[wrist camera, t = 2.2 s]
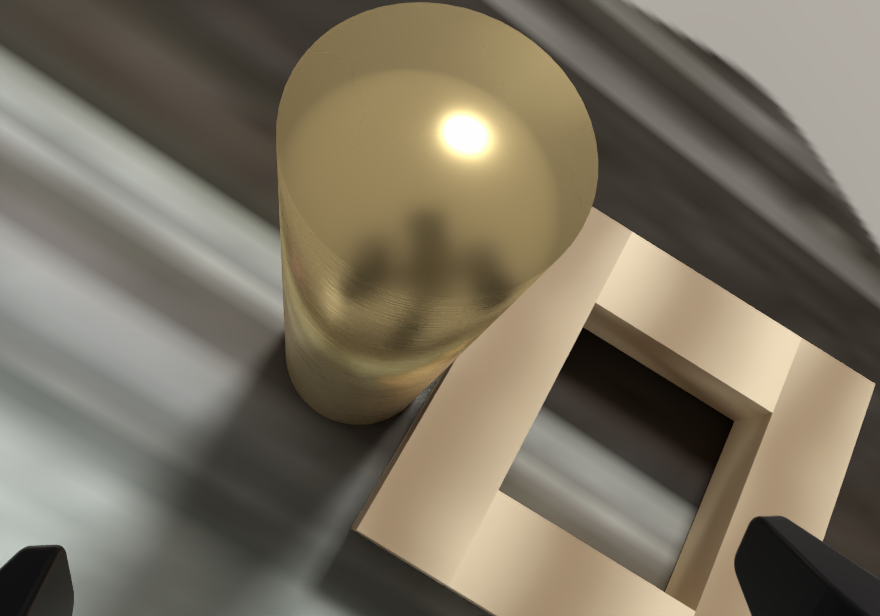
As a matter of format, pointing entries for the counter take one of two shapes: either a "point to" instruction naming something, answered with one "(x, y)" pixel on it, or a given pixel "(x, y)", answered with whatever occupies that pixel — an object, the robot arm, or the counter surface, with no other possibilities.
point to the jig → (665, 352)
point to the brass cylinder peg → (418, 197)
